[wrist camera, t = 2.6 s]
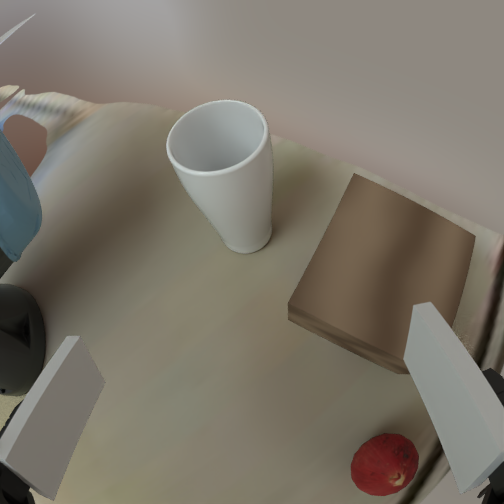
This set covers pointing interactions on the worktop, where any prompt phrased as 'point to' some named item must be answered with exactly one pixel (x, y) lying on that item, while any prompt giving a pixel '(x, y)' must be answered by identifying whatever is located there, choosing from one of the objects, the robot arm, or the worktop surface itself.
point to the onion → (384, 464)
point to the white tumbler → (227, 169)
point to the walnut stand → (380, 273)
